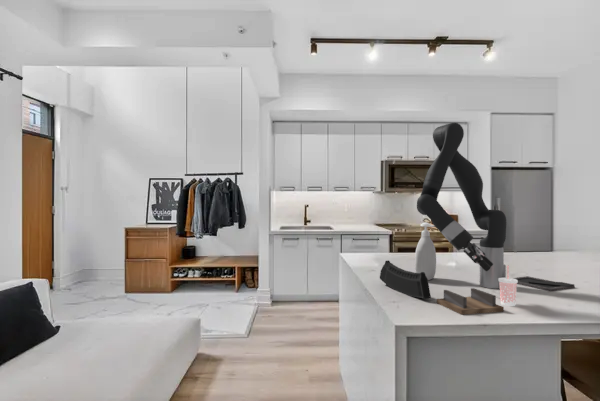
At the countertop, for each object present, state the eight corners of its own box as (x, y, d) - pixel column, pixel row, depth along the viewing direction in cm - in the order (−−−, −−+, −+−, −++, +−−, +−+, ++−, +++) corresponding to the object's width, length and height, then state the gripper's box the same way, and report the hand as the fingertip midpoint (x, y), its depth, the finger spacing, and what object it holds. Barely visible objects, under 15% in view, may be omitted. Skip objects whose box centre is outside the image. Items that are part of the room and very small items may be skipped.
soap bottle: (425, 283, 165) (425, 223, 165) (410, 280, 172) (410, 222, 172) (443, 279, 174) (443, 222, 174) (428, 276, 180) (428, 221, 180)
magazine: (435, 278, 134) (391, 245, 161) (428, 279, 133) (384, 245, 160) (426, 319, 139) (384, 280, 166) (419, 320, 138) (378, 281, 165)
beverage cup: (509, 301, 136) (509, 263, 136) (522, 306, 130) (521, 266, 130) (494, 302, 135) (494, 264, 135) (506, 307, 129) (506, 267, 129)
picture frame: (574, 289, 157) (527, 279, 176) (574, 284, 157) (527, 275, 176) (550, 293, 151) (503, 282, 170) (550, 288, 151) (503, 278, 170)
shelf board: (475, 300, 137) (475, 287, 137) (503, 311, 124) (503, 296, 124) (436, 302, 134) (436, 289, 134) (461, 314, 120) (461, 299, 120)
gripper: (461, 229, 134) (496, 264, 128) (467, 227, 146) (500, 258, 140) (445, 243, 137) (479, 277, 131) (453, 240, 149) (484, 271, 143)
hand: (490, 267), depth 135 cm, fingers open, 8 cm apart
